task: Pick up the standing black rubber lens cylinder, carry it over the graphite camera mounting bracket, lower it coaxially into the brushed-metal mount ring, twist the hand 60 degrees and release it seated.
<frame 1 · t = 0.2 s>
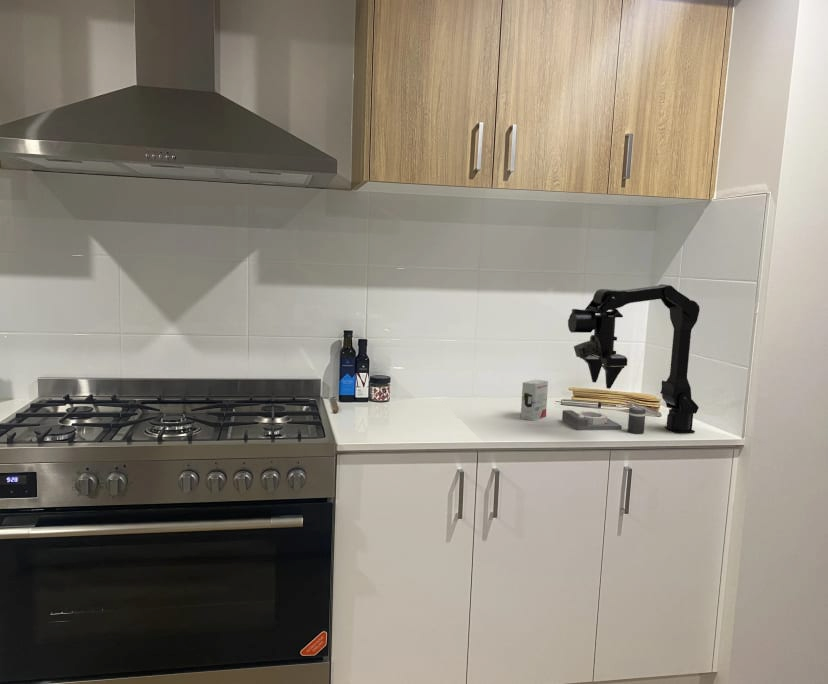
hand: (601, 385, 197), 14 cm above the worktop, fingers open, 9 cm apart
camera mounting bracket: (591, 424, 207), on the worktop
lens: (635, 432, 200), on the worktop
ink box: (533, 418, 214), on the worktop
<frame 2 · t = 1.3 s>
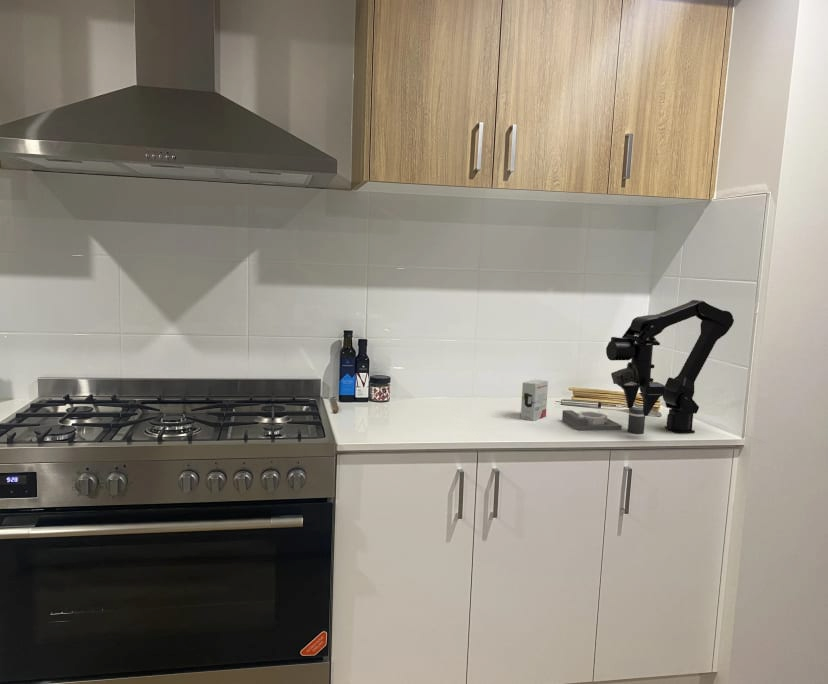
hand: (637, 412, 199), 6 cm above the worktop, fingers open, 9 cm apart
nothing on the worktop moved.
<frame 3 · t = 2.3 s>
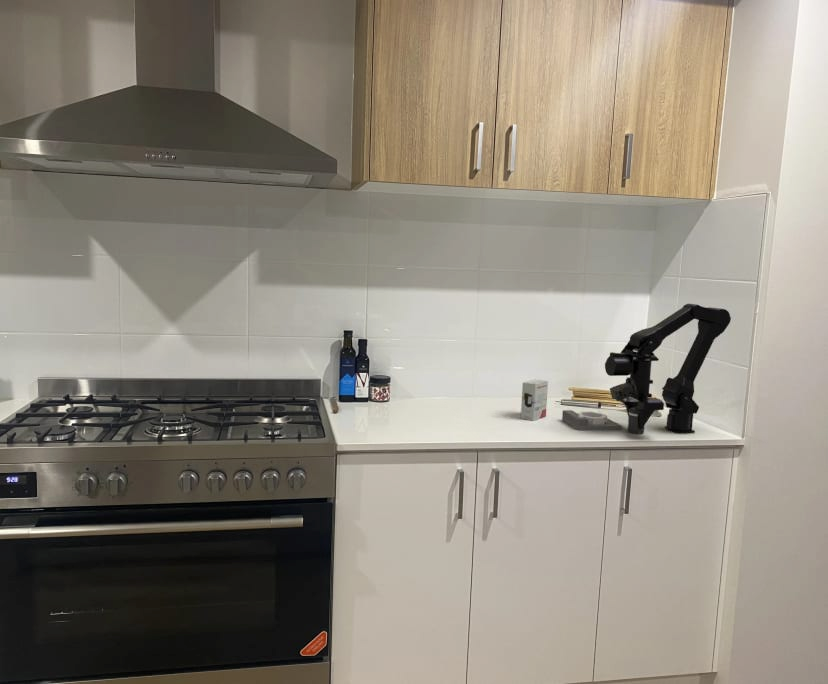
hand: (636, 427, 199), 2 cm above the worktop, fingers closed on lens, 5 cm apart
lens: (635, 432, 200), on the worktop, touching gripper
everything else where it was.
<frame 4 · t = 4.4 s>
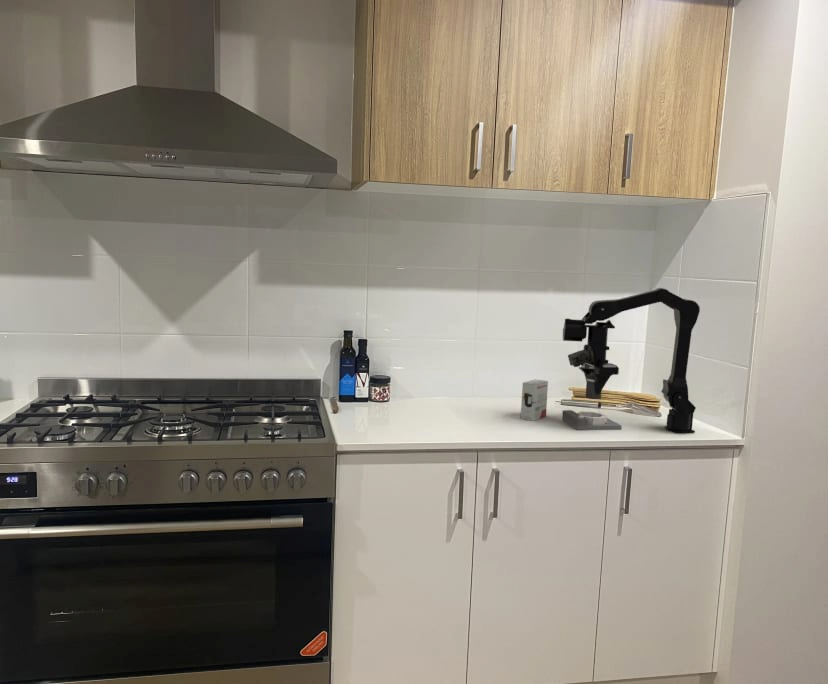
hand: (593, 392, 205), 10 cm above the worktop, fingers closed on lens, 5 cm apart
lens: (593, 397, 205), point 9 cm above the worktop, touching gripper
everything else where it was.
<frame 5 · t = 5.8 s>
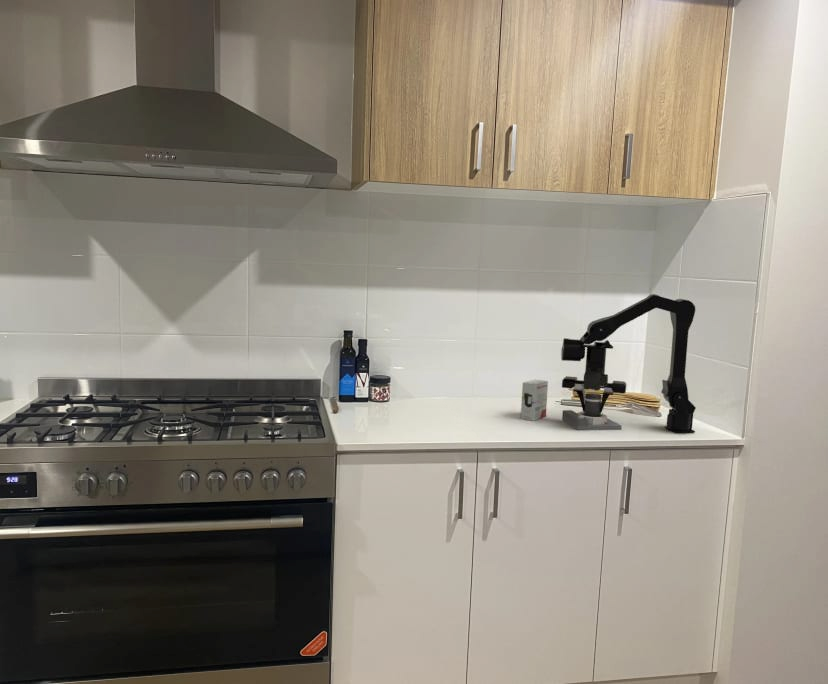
hand: (592, 412, 206), 4 cm above the worktop, fingers closed on lens, 5 cm apart
lens: (591, 417, 206), point 2 cm above the worktop, touching gripper
everything else where it was.
when the fingers open (4 cm above the worktop, at t = 6.6 s): lens drops 1 cm, resting on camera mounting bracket.
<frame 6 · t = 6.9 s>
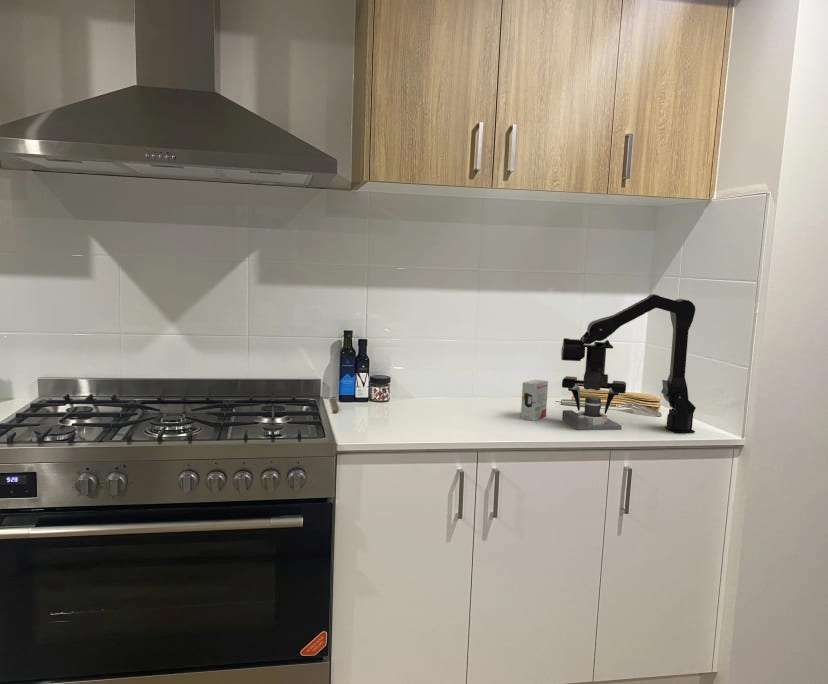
hand: (592, 412, 206), 4 cm above the worktop, fingers open, 8 cm apart
lens: (591, 421, 206), point 1 cm above the worktop, touching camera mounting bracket
everything else where it was.
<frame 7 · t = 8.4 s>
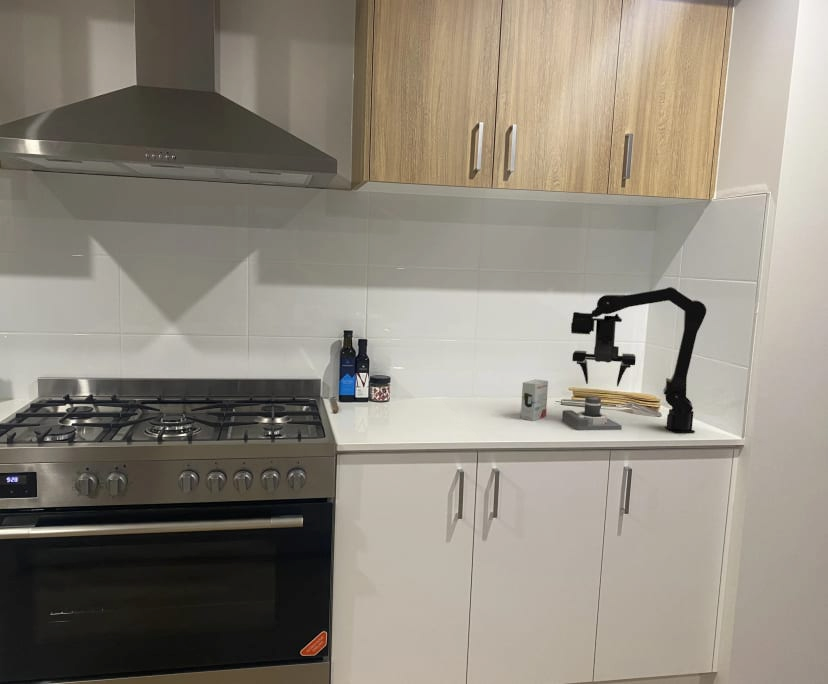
hand: (602, 385, 210), 12 cm above the worktop, fingers open, 9 cm apart
nothing on the worktop moved.
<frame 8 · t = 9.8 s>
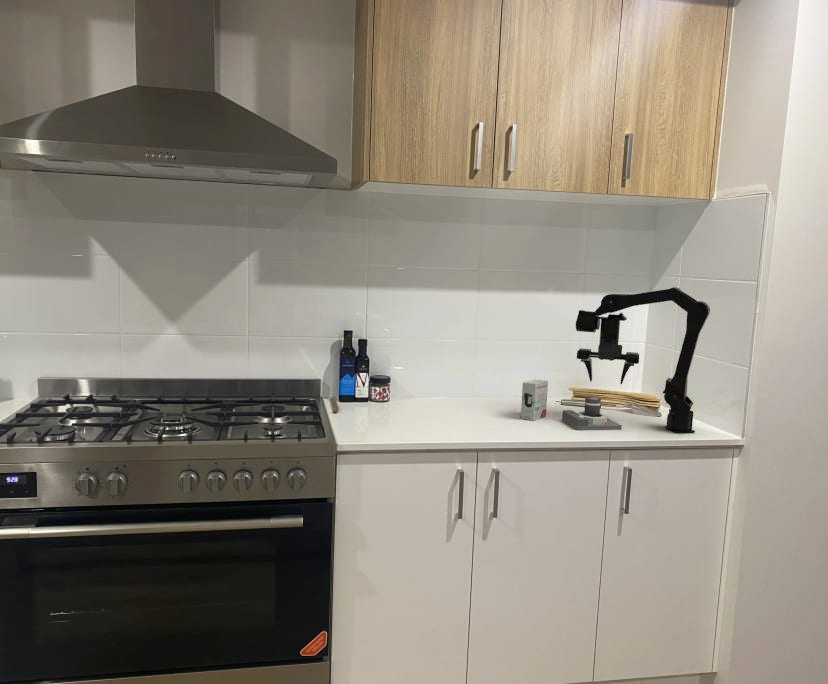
hand: (605, 382, 212), 12 cm above the worktop, fingers open, 9 cm apart
nothing on the worktop moved.
at the end: lens 0.1 cm off-centre on the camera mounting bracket, point 1.2 cm above the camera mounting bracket's base; lens tilted 0°; the gripper is holding nothing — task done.
